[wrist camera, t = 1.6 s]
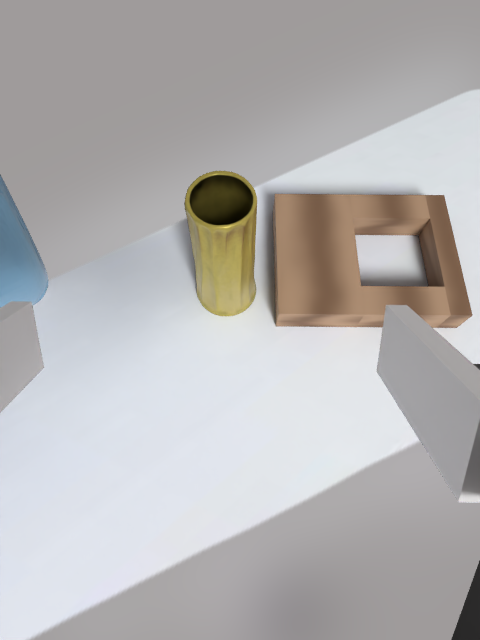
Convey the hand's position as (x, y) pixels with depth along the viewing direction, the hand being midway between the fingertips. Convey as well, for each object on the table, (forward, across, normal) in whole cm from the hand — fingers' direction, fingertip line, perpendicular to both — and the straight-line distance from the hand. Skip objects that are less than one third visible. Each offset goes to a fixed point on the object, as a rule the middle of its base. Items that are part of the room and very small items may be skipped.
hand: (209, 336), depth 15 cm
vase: (+27, 0, -6) cm, 28 cm away
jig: (+29, +14, -4) cm, 32 cm away
